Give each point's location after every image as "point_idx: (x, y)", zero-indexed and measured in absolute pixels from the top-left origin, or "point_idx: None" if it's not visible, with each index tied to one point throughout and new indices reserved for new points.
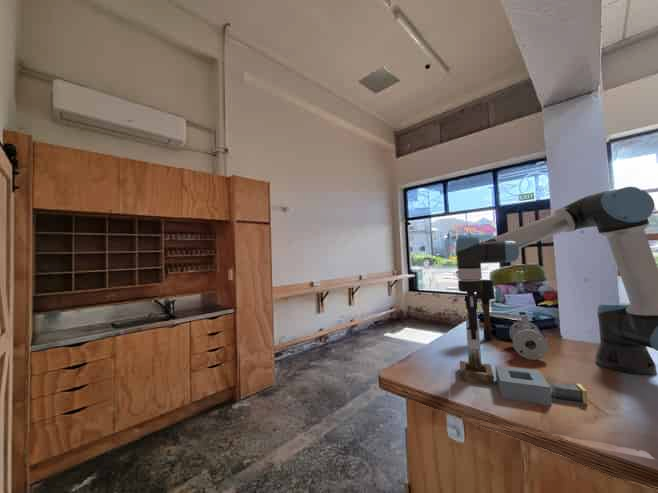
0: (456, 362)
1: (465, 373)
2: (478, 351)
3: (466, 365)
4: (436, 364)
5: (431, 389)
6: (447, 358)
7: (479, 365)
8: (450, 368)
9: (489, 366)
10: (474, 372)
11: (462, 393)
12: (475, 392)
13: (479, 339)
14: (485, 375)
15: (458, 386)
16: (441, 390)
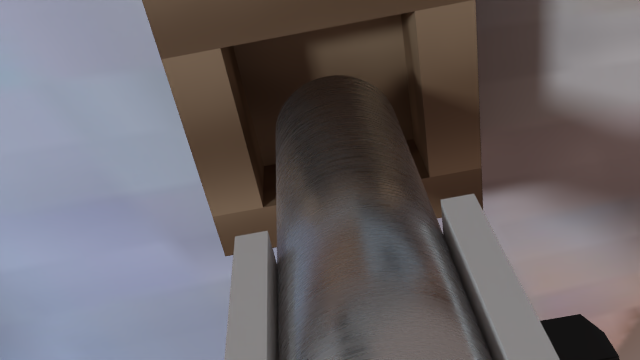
0: (48, 258)
1: (478, 168)
2: (412, 178)
3: (261, 191)
4: (191, 351)
5: (612, 279)
6: (9, 325)
7: (378, 96)
8: (208, 266)
9: (217, 2)
10: (457, 109)
11: (616, 120)
12: (573, 45)
13: (402, 272)
14: (475, 12)
15: (512, 161)
16: (609, 233)
